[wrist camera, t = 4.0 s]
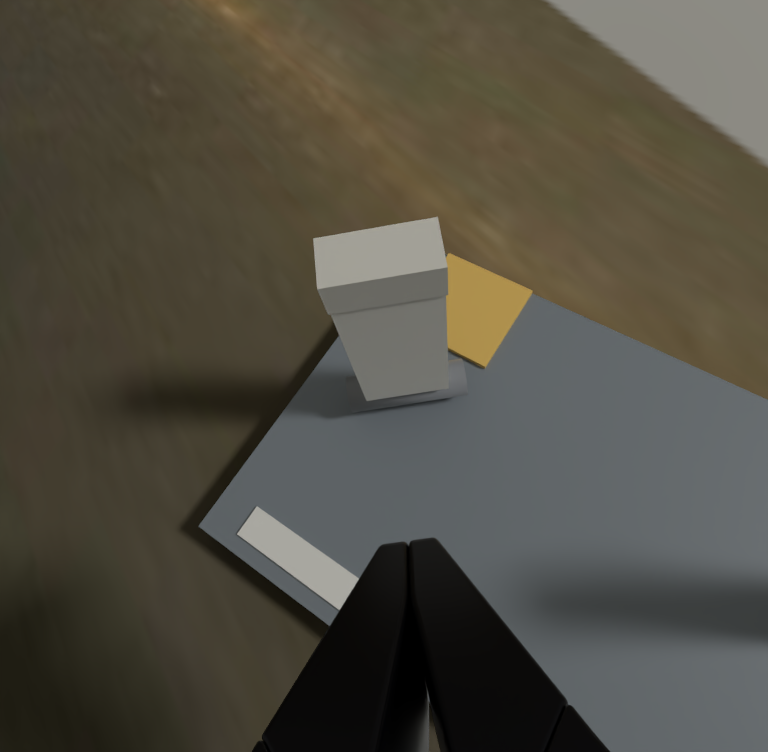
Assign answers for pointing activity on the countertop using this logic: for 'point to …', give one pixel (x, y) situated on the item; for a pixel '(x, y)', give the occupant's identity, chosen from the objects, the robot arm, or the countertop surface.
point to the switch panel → (545, 511)
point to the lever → (390, 313)
